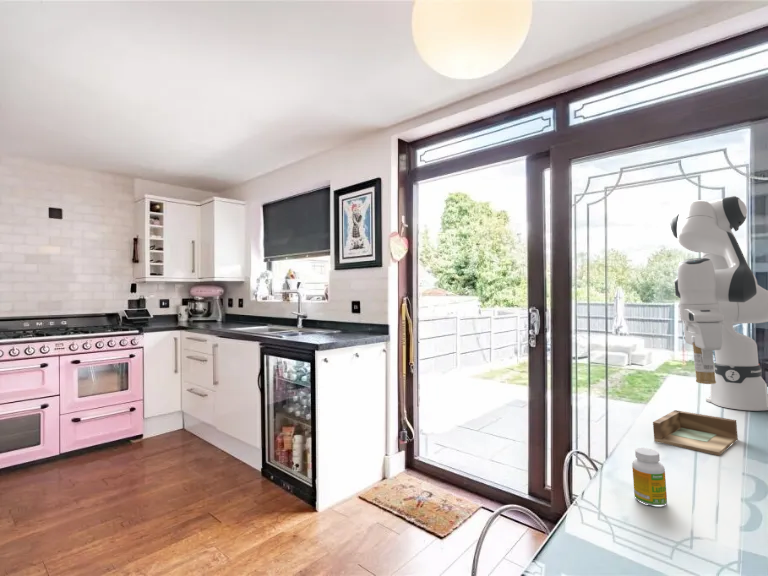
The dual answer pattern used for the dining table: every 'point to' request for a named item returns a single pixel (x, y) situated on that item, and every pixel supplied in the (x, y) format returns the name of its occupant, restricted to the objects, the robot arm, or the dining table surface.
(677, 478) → the dining table surface
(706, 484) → the dining table surface
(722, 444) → the corner arena
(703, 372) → the sprinkles bottle
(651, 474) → the supplement bottle
